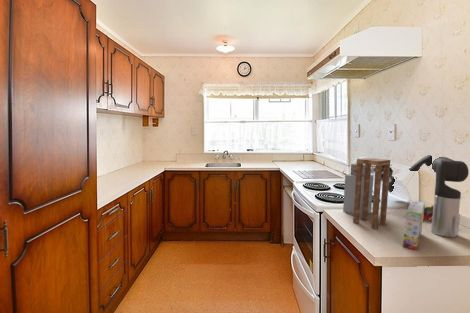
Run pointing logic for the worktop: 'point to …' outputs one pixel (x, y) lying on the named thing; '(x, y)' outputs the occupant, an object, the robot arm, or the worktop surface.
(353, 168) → the metal bar
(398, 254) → the worktop surface
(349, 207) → the slate pedestal
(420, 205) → the snack box
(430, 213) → the foo dog statuette
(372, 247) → the worktop surface
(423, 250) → the worktop surface
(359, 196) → the walnut stand
